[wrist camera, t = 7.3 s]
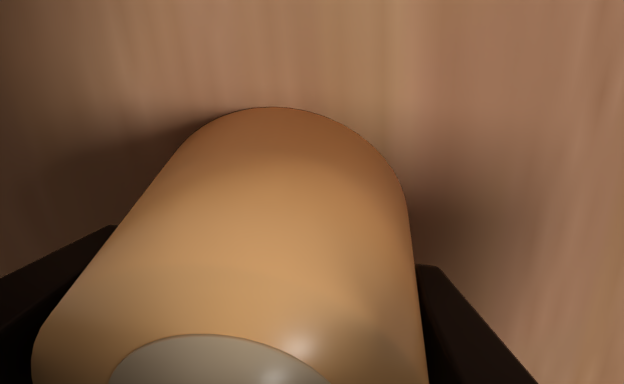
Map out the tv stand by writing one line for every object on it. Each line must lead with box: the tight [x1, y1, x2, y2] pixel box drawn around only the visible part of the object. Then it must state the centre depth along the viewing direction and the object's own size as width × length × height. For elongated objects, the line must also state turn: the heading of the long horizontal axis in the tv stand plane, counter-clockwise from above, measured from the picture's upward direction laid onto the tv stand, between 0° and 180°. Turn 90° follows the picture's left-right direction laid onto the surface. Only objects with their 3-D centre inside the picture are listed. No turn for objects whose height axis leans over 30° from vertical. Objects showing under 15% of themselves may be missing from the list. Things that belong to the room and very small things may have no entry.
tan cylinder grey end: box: [31, 107, 429, 384], centre depth 8 cm, size 5×5×5 cm
